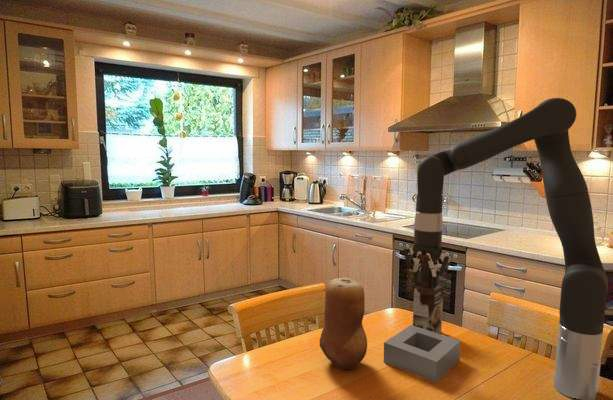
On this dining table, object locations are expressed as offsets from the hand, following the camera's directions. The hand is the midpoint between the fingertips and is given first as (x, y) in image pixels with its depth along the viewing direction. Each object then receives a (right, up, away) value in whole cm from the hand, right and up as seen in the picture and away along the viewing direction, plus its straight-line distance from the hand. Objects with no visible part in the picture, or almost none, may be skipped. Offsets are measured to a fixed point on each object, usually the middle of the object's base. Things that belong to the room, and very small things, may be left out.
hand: (425, 286), depth 118 cm
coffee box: (+7, -20, +21) cm, 30 cm away
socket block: (0, -23, +3) cm, 23 cm away
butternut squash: (-23, -23, +1) cm, 33 cm away
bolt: (0, -5, +1) cm, 6 cm away
